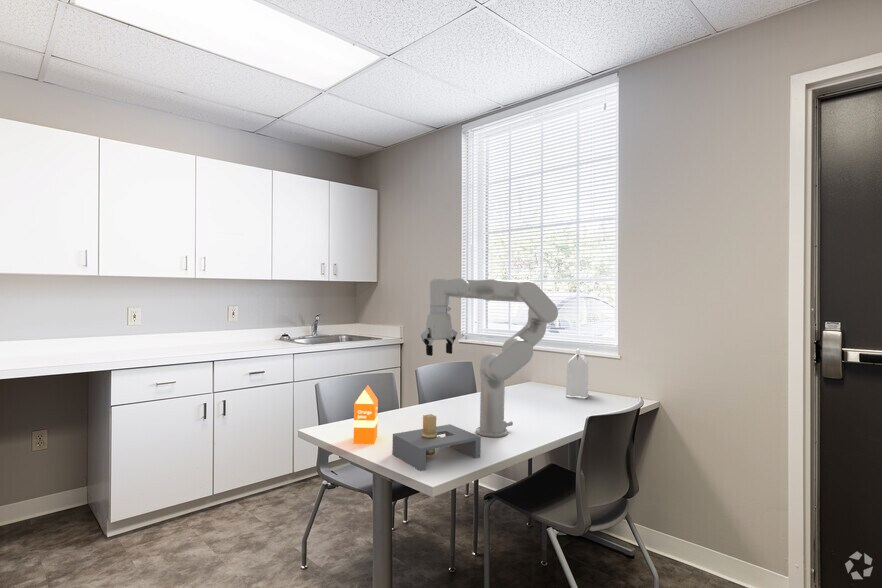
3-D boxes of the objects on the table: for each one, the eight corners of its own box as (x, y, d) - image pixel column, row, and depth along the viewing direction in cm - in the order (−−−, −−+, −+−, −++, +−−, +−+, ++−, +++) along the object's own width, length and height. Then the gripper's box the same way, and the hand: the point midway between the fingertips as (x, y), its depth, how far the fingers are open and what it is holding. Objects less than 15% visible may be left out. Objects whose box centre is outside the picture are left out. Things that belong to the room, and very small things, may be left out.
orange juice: (377, 437, 184) (378, 384, 184) (374, 444, 175) (375, 389, 175) (357, 436, 184) (358, 384, 184) (352, 443, 175) (353, 388, 175)
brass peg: (431, 449, 166) (431, 413, 166) (439, 453, 162) (440, 416, 162) (418, 452, 163) (419, 415, 163) (426, 456, 159) (427, 418, 159)
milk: (567, 393, 273) (568, 347, 273) (588, 394, 270) (589, 348, 270) (565, 397, 262) (566, 349, 262) (587, 399, 258) (588, 350, 258)
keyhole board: (449, 443, 178) (450, 424, 178) (480, 457, 163) (480, 436, 163) (392, 454, 165) (392, 433, 164) (420, 471, 150) (420, 448, 150)
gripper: (450, 309, 196) (450, 351, 196) (415, 310, 186) (415, 355, 186) (462, 310, 190) (462, 353, 190) (427, 311, 180) (427, 357, 180)
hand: (439, 354), depth 188 cm, fingers open, 9 cm apart
